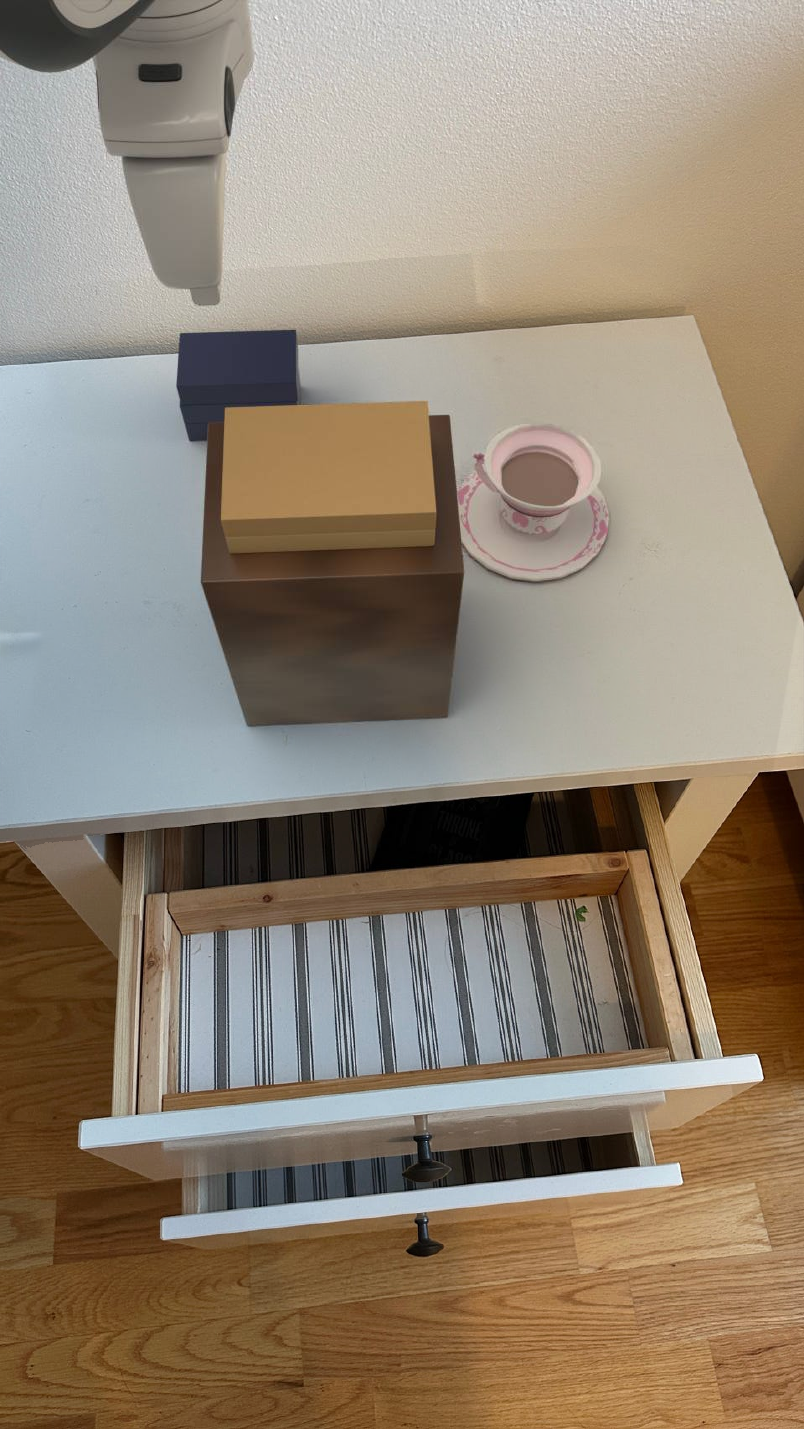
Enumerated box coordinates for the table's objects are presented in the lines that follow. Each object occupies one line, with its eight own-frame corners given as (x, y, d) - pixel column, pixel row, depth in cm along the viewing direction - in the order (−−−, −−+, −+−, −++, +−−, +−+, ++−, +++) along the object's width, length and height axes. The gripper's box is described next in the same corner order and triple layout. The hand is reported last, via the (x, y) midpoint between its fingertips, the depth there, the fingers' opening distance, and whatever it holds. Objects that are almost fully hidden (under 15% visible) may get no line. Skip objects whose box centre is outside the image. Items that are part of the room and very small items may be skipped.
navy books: (189, 441, 79) (179, 405, 75) (192, 389, 81) (182, 352, 78) (301, 437, 79) (296, 401, 75) (300, 386, 81) (296, 349, 78)
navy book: (181, 405, 75) (176, 386, 73) (184, 352, 78) (179, 332, 76) (298, 401, 75) (296, 382, 74) (298, 349, 78) (296, 329, 76)
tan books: (229, 554, 52) (220, 519, 50) (232, 445, 56) (224, 407, 53) (434, 546, 53) (436, 512, 50) (425, 438, 56) (427, 400, 53)
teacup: (622, 478, 77) (640, 424, 72) (588, 601, 72) (604, 552, 67) (476, 442, 79) (482, 385, 73) (433, 560, 74) (436, 509, 68)
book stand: (246, 726, 68) (200, 582, 52) (249, 592, 73) (207, 422, 56) (447, 718, 68) (464, 572, 52) (437, 585, 73) (449, 414, 57)
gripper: (125, -75, 58) (170, 149, 70) (96, 148, 49) (154, 359, 61) (232, -75, 58) (258, 148, 71) (223, 146, 49) (255, 357, 62)
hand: (210, 248), depth 66 cm, fingers open, 8 cm apart
